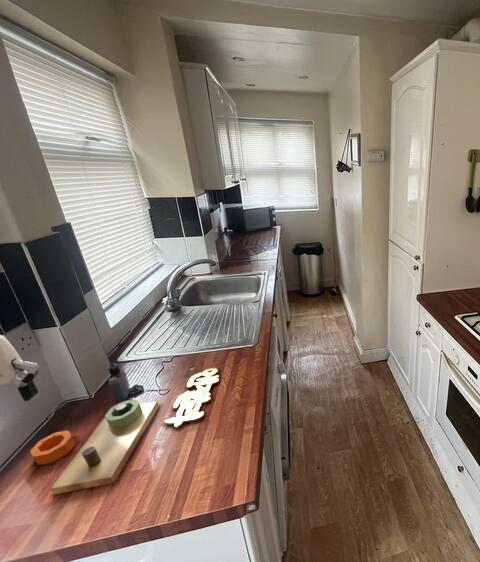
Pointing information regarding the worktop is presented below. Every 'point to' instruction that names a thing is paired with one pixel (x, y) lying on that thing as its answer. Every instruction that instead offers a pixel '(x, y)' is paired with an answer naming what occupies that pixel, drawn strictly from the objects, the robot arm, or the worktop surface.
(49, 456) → the orange ring
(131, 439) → the peg board
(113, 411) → the green ring
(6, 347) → the robot arm
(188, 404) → the lettering
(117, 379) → the vaping device
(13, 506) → the worktop surface
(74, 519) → the worktop surface
